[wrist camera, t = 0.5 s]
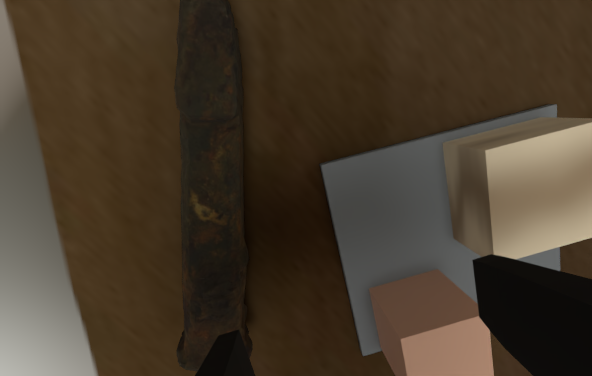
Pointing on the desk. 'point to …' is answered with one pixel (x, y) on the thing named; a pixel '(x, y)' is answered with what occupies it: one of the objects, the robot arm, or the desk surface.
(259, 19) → the desk surface
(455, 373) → the terracotta cube
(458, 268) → the rubber mat
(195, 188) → the hand tool
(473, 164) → the beech block
